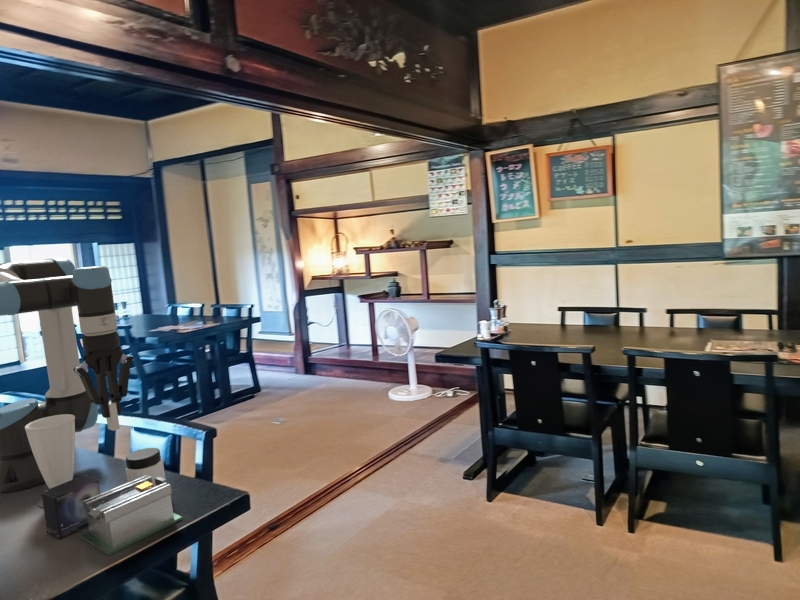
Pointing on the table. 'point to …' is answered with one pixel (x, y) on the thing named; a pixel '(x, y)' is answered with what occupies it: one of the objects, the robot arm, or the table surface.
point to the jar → (144, 464)
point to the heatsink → (130, 515)
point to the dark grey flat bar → (117, 500)
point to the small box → (68, 505)
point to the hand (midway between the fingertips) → (113, 428)
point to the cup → (53, 448)
